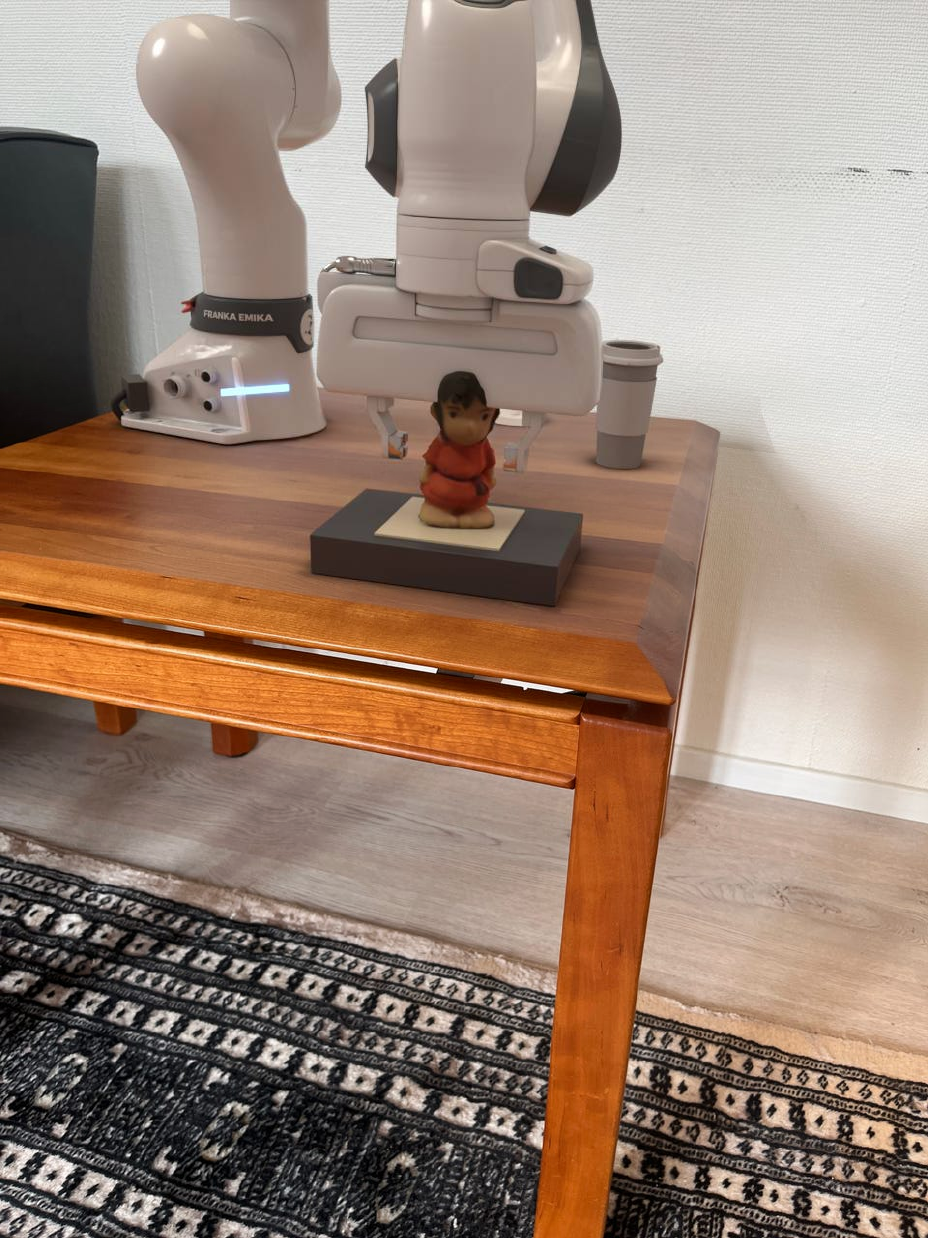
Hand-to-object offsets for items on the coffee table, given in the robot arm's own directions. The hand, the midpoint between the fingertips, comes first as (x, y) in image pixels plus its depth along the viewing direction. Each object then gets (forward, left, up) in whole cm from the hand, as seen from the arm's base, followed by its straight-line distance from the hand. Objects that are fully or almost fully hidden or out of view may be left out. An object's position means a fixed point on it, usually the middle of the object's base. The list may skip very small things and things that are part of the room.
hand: (454, 463), depth 72 cm
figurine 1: (0, 0, -5) cm, 5 cm away
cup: (+9, +33, -8) cm, 35 cm away
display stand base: (0, 0, -8) cm, 8 cm away
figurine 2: (-5, +48, -8) cm, 49 cm away
